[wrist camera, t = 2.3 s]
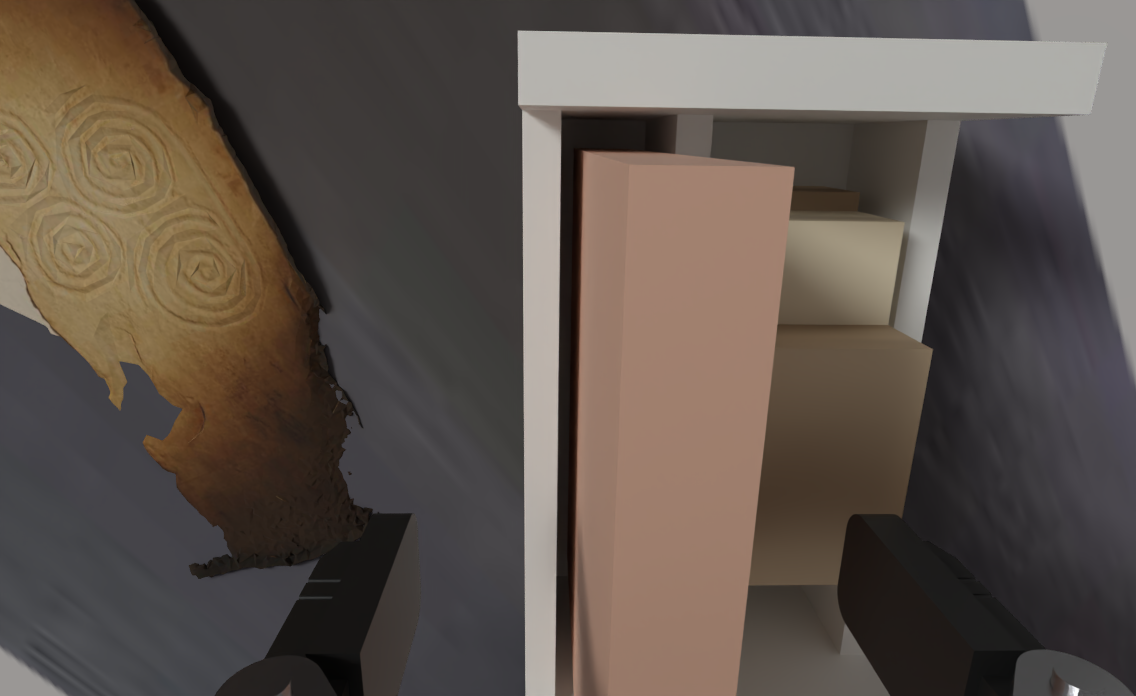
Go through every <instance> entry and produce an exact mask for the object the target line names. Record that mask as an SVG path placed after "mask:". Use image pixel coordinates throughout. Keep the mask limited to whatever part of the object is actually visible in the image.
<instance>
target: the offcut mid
mask: <svg viewBox="0 0 1136 696" xmlns="http://www.w3.org/2000/svg"><path fill="white" fill-rule="evenodd" d="M904 224H905V222H902V221H898V220H893V219H889V218H885V217H880V216H876V215H872V214H867V213H863V212H858V211H791V210H790V216H789V225H788V234H787V243H786V252H785V261H784V270H783V279H782V288H781V297H780V306H779V315H778V324H801V325H888V323H889V317H890V310H891V304H892V298H893V292H894V286H895V280H896V273H897V267H898V261H899V255H900V249H901V243H902V236H903V230H904Z"/></svg>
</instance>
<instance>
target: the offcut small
mask: <svg viewBox="0 0 1136 696" xmlns="http://www.w3.org/2000/svg"><path fill="white" fill-rule="evenodd" d="M932 352H933V349H931V348H930V347H928V346H926V345H924V344H922V343H920V342H918V341H917V340H915V339H913V338H911V337H909V336H907V335H906V334H904V333H902V332H900V331H898V330H896V329H895V328H893V327H891V326H889V325H801V324H777V333H776V342H775V351H774V360H773V369H772V378H771V387H770V396H769V405H768V414H767V423H766V432H765V441H764V450H763V459H762V468H761V477H760V486H759V495H758V504H757V513H756V522H755V531H754V540H753V549H752V558H751V567H750V576H749V585H838V579H839V572H840V566H841V560H842V553H843V547H844V540H845V534H846V527H847V523H848V520H849V518H850V517H851V516H852V515H853V514H896V515H898V516H899V517H900V518H901V519H902V515H903V509H904V504H905V498H906V493H907V487H908V482H909V477H910V471H911V466H912V460H913V455H914V450H915V444H916V439H917V433H918V428H919V422H920V417H921V412H922V406H923V401H924V395H925V390H926V385H927V379H928V374H929V368H930V363H931V358H932Z"/></svg>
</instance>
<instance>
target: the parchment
mask: <svg viewBox="0 0 1136 696" xmlns="http://www.w3.org/2000/svg"><path fill="white" fill-rule="evenodd" d="M0 304H1V305H3V306H5V307H8V308H10V309H12V310H14V311H16V312H18V313H20V314H22V315H24V316H26V317H29V318H31V319H33V320H35V321H37V322H39V323H41V324H43V325H45V326H47V328H48V329H49V331H50V332H51V334H54V335H57V336H61V337H62V338H63V339H64V340H65V341H66V342H67V343H68V344H69V345H70V346H71V347H72V348H74V349H75V350H77V351H78V352H79V353H80V354H81V355H82V356H83V357H84V358H85V359H86V360H87V361H88V362H89V364H90V365H91V366H92V368H93V369H94V371H95V372H96V373H97V375H98V376H99V377H101V378H104V379H105V381H106V383H107V385H108V387H109V389H110V396H109V399H110V400H111V401H112V403H113V404H114V405H115V406H116V407H117V408H118V409H119V410H120V409H121V402H122V400H123V387H124V386H125V385H126V383H127V380H126V378H125V375H124V373H123V371H122V368H121V366H120V364H119V361H123V362H128V363H133V364H137V365H139V366H140V367H141V368H142V369H143V370H144V371H145V372H146V373H147V374H148V375H149V377H150V378H151V380H152V382H153V383H154V385H155V387H156V388H157V390H158V392H159V394H160V395H162V396H163V397H164V398H165V399H166V400H168V401H169V402H170V403H171V404H172V405H174V406H177V407H180V408H182V411H181V413H180V414H179V416H178V417H177V419H176V420H175V423H174V425H173V428H172V430H171V432H170V434H169V435H168V436H167V437H166V438H165V439H164V440H163V441H162V440H159V439H156V438H153V437H151V436H148V435H147V436H146V437H145V439H144V441H143V444H144V447H145V449H146V450H147V452H148V453H149V455H150V456H151V457H152V458H153V459H154V460H155V461H156V462H157V463H158V464H159V465H160V466H161V467H162V468H163V469H165V470H166V471H168V472H172V473H175V474H176V483H177V488H178V490H179V491H180V492H181V494H182V495H183V496H184V497H185V498H186V500H187V501H188V502H189V503H190V504H191V505H192V506H193V507H194V508H196V509H197V510H198V512H199V513H200V514H201V515H202V516H204V517H205V518H206V519H207V520H208V522H210V523H211V524H212V525H213V527H214V526H217V525H218V526H219V527H220V528H221V529H222V530H223V532H224V539H225V540H226V541H227V547H228V549H229V550H230V552H231V554H232V558H231V557H230V556H229V555H227V554H226V555H223V556H222V557H216V558H213V560H210V561H209V562H208V564H207V565H205V564H203V565H199V564H197V563H194V564H191V565H189V567H190V570H191V573H192V575H196V576H197V577H198V579H201V578H204V577H208V576H210V577H212V576H214V575H215V574H224V573H227V572H229V571H233V570H239V569H241V568H243V567H256V568H259V569H263V568H266V567H269V566H292V565H295V564H297V563H300V562H302V561H305V560H308V559H309V560H311V559H314V558H316V557H319V556H321V555H323V554H325V553H327V552H329V551H330V550H331V549H333V548H334V547H335V546H336V545H337V544H339V543H340V542H353V541H355V540H356V539H358V538H359V537H361V536H362V534H363V532H364V530H365V528H366V526H367V524H368V522H369V520H370V519H369V513H370V512H372V510H373V509H370V508H364V509H363V508H361V507H359V506H357V505H353V500H354V499H350V498H349V494H348V489H347V484H346V482H345V480H344V479H343V475H342V473H341V471H340V470H339V468H338V466H339V459H340V458H341V457H342V454H343V452H344V451H345V449H344V448H342V445H341V444H342V443H344V442H345V440H344V438H347V435H349V434H350V433H351V432H350V430H349V429H347V426H346V421H345V417H346V416H347V415H349V416H351V415H352V414H353V413H352V411H354V409H353V407H352V403H351V402H348V403H347V405H345V404H343V403H341V402H339V401H338V399H337V398H336V393H335V391H336V390H339V391H342V398H341V400H342V399H345V400H347V398H346V396H345V394H344V392H343V390H342V389H341V388H340V387H339V386H337V383H336V381H335V380H334V379H333V378H332V377H331V376H330V375H329V373H328V368H329V367H328V364H327V358H326V356H325V354H324V351H323V349H324V348H325V346H326V345H325V346H324V345H321V343H320V342H319V335H318V332H317V330H318V322H319V320H320V318H319V309H322V310H323V311H324V308H323V307H322V306H321V305H319V300H318V298H317V296H316V294H315V293H314V290H313V288H312V287H311V286H310V285H309V283H308V282H306V281H305V279H304V276H303V275H302V274H301V273H300V272H299V271H298V270H297V268H296V266H295V264H294V259H293V258H292V256H291V255H290V253H289V252H288V250H287V244H286V243H285V241H284V238H283V236H282V235H281V233H280V230H279V229H278V227H277V225H276V223H275V222H274V220H273V218H272V217H271V215H270V214H269V213H268V211H267V209H266V207H265V206H264V204H263V202H262V200H261V198H260V195H259V193H258V191H257V189H255V187H254V185H253V183H252V181H251V179H250V177H249V175H248V173H247V171H246V169H245V167H244V165H243V164H242V163H241V162H240V160H239V159H238V157H237V156H236V153H235V151H234V149H233V148H232V146H231V145H230V143H229V141H228V139H227V135H225V134H224V133H223V129H222V128H221V127H220V126H219V124H218V121H217V119H216V116H215V113H214V110H213V105H212V102H211V99H209V98H208V97H206V96H205V95H204V94H203V93H202V92H201V91H200V90H199V89H198V88H197V87H196V86H195V85H194V84H191V83H190V82H189V81H187V80H186V78H185V77H184V76H183V74H182V72H181V70H180V69H179V67H178V65H177V62H176V60H175V59H174V57H173V56H172V54H171V53H170V52H169V51H168V49H167V47H166V46H165V45H164V44H163V42H162V41H161V38H160V37H159V36H158V34H157V31H156V29H155V27H154V24H153V23H152V21H149V20H148V18H147V17H146V15H145V14H144V13H143V12H142V10H141V9H140V8H139V7H138V5H137V4H136V2H135V1H134V0H0ZM325 313H326V312H325ZM329 384H331V385H332V384H334V385H335V386H334V387H333V388H331V386H330V385H329ZM347 401H348V400H347ZM354 412H355V411H354ZM355 414H356V413H355ZM356 415H357V414H356ZM357 417H358V416H357ZM358 420H359V418H358ZM359 424H360V422H359ZM351 428H352V427H351ZM348 473H349V475H351V474H352V473H350V472H348ZM378 514H379V513H378ZM363 525H364V527H363Z"/></svg>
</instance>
